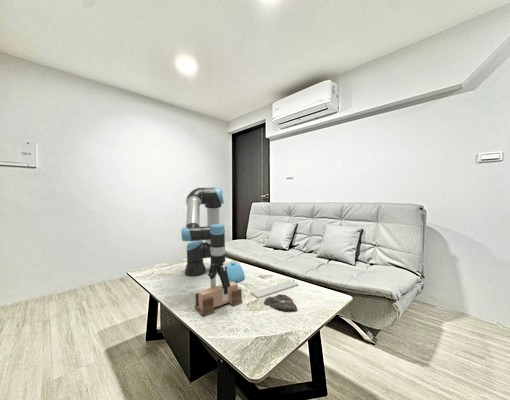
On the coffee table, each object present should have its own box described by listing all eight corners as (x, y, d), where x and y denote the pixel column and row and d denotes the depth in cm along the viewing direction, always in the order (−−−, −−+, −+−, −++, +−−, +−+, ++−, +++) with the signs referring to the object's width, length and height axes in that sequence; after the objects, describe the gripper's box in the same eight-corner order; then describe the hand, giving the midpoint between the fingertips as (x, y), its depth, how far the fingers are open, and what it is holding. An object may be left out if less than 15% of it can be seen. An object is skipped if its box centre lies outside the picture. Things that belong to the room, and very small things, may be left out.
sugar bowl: (218, 278, 149) (217, 262, 149) (236, 273, 158) (236, 258, 158) (229, 285, 137) (229, 267, 137) (248, 279, 146) (248, 262, 146)
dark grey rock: (276, 294, 124) (259, 304, 113) (276, 287, 124) (259, 296, 113) (306, 304, 112) (290, 317, 101) (306, 297, 112) (290, 308, 101)
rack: (194, 308, 110) (194, 293, 110) (232, 295, 122) (232, 283, 122) (202, 317, 101) (202, 301, 101) (242, 302, 114) (242, 289, 114)
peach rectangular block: (198, 307, 108) (198, 291, 108) (233, 295, 120) (232, 281, 120) (203, 311, 104) (202, 295, 104) (238, 298, 116) (237, 284, 116)
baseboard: (248, 293, 127) (258, 299, 118) (248, 288, 127) (257, 294, 118) (287, 281, 143) (298, 286, 135) (287, 277, 143) (298, 282, 135)
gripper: (201, 250, 120) (202, 289, 120) (222, 261, 99) (223, 307, 99) (214, 248, 124) (215, 285, 124) (236, 258, 104) (237, 302, 104)
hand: (218, 295), depth 112 cm, fingers open, 13 cm apart
